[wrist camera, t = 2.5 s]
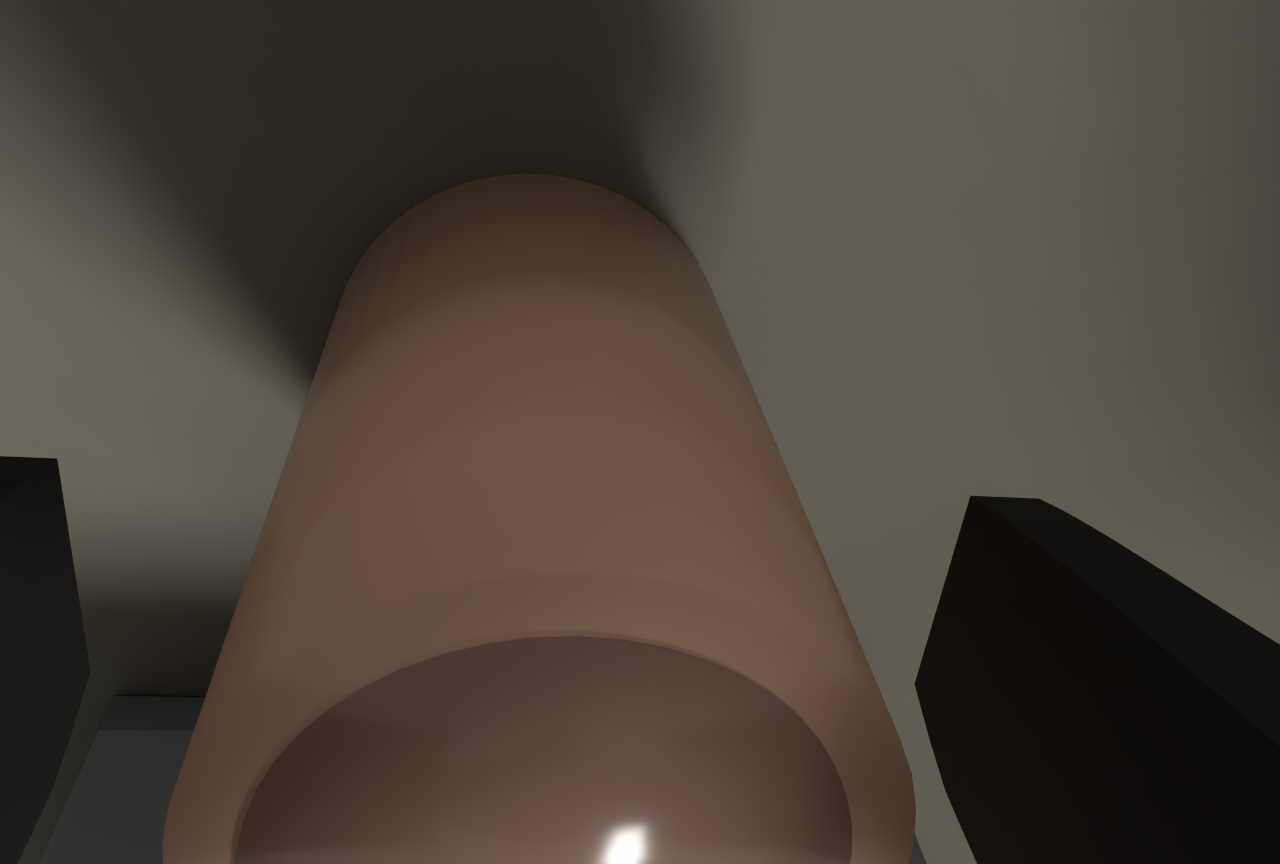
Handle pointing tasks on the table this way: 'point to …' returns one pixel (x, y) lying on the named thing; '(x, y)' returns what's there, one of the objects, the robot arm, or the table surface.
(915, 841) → the tray
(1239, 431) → the table surface
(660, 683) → the cup
